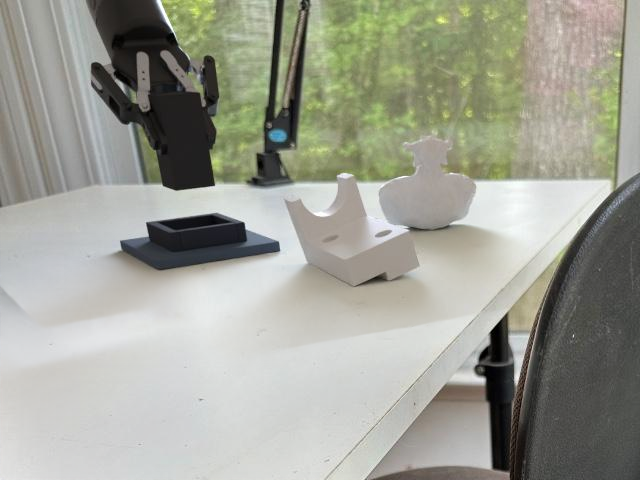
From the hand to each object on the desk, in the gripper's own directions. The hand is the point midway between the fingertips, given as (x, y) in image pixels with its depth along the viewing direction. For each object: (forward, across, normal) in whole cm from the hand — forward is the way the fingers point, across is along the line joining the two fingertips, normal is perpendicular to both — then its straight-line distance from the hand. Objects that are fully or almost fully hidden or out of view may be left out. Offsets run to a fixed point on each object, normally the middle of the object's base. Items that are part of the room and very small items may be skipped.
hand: (187, 146), depth 96 cm
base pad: (+6, 0, -9) cm, 11 cm away
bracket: (+22, -9, +6) cm, 24 cm away
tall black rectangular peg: (+2, 0, -4) cm, 4 cm away
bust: (+12, -26, -4) cm, 29 cm away
